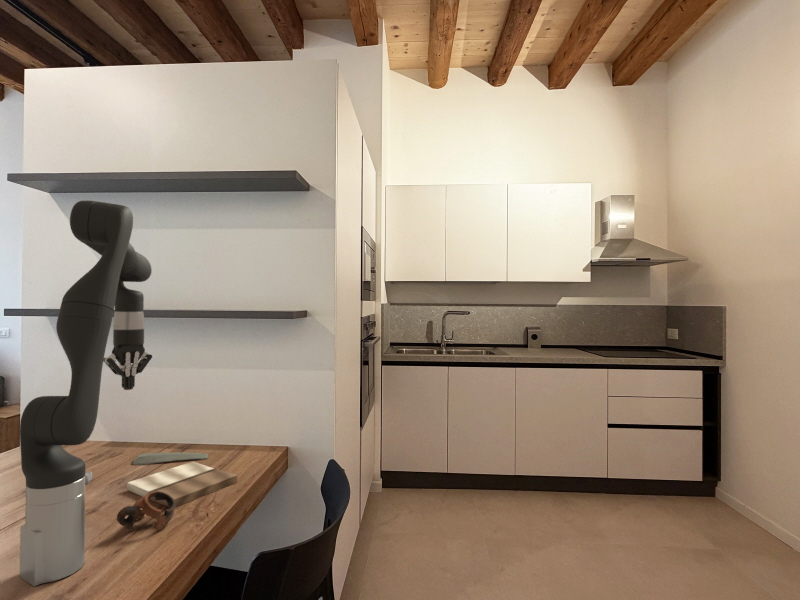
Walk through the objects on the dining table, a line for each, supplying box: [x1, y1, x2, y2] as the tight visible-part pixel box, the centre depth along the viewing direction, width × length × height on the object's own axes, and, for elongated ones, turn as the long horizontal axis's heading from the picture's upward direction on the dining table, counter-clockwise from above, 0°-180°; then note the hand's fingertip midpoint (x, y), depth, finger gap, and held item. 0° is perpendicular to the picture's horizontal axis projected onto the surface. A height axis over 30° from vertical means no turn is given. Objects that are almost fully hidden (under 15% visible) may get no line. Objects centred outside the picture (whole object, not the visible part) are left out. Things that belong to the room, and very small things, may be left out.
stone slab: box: [132, 452, 209, 466], centre depth 154 cm, size 22×3×10 cm
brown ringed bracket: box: [116, 491, 176, 531], centre depth 106 cm, size 12×10×8 cm
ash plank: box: [126, 461, 214, 498], centre depth 133 cm, size 20×10×2 cm, turn 149°
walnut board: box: [148, 467, 238, 509], centre depth 127 cm, size 20×10×2 cm, turn 149°
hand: (128, 389), depth 130 cm, fingers closed
